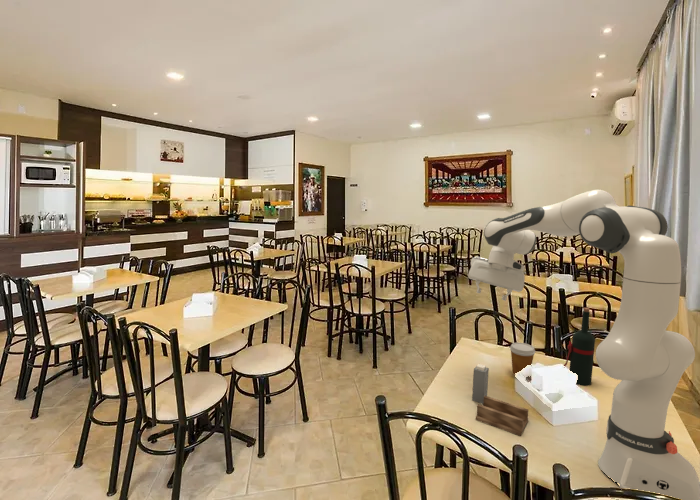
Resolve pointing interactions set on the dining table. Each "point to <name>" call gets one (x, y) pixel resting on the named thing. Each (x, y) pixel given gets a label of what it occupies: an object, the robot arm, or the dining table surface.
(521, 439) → the dining table surface
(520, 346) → the disposable coffee cup
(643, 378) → the robot arm
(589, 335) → the wine bottle
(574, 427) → the dining table surface
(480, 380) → the post
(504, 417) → the wooden card holder
